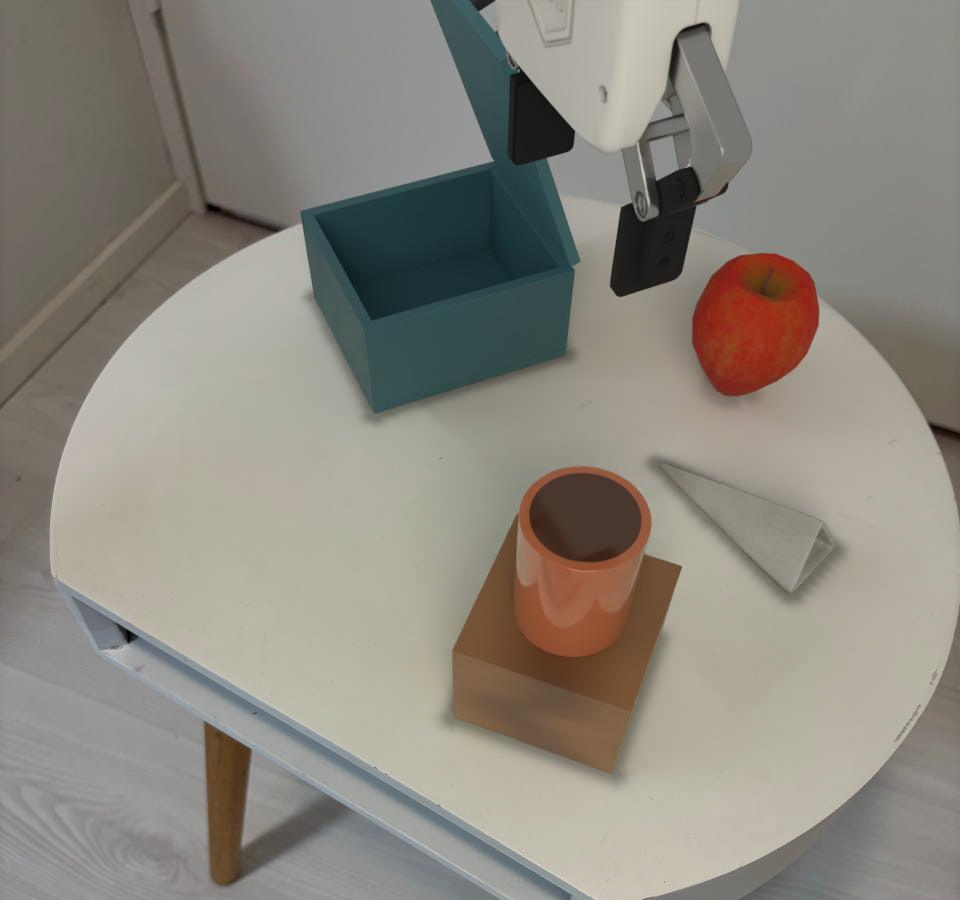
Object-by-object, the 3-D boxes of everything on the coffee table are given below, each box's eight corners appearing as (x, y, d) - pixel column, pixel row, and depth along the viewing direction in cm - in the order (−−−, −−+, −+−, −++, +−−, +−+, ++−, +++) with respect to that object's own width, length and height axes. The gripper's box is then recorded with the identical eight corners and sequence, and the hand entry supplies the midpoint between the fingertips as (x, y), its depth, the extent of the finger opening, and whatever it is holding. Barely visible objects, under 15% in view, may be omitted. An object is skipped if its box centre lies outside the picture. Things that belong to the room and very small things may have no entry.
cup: (495, 634, 54) (499, 546, 47) (535, 545, 57) (544, 450, 50) (608, 673, 53) (629, 588, 46) (642, 580, 56) (667, 487, 49)
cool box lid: (499, 61, 55) (576, 11, 54) (408, -54, 61) (476, -100, 61) (571, 268, 69) (631, 230, 69) (491, 157, 76) (546, 122, 75)
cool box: (373, 414, 73) (364, 331, 66) (313, 297, 79) (299, 210, 73) (565, 355, 76) (575, 270, 70) (493, 247, 83) (495, 160, 76)
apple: (733, 450, 71) (773, 333, 62) (651, 382, 75) (677, 261, 66) (813, 396, 74) (863, 276, 65) (730, 333, 78) (766, 210, 68)
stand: (453, 717, 60) (451, 650, 53) (511, 589, 65) (516, 513, 58) (611, 774, 58) (630, 712, 52) (659, 638, 63) (682, 565, 56)
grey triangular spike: (615, 509, 68) (788, 586, 62) (647, 448, 68) (824, 519, 62) (641, 532, 73) (804, 605, 67) (671, 475, 73) (837, 543, 67)
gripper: (417, -366, 33) (434, 131, 47) (691, -148, 25) (609, 370, 39) (618, -395, 34) (574, 94, 49) (936, -199, 26) (769, 315, 41)
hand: (590, 216), depth 44 cm, fingers open, 9 cm apart
